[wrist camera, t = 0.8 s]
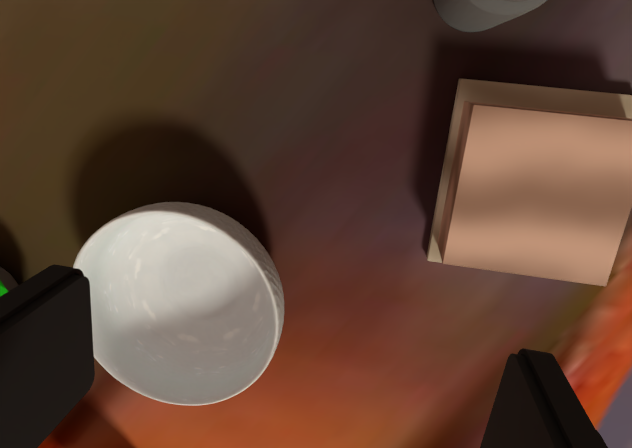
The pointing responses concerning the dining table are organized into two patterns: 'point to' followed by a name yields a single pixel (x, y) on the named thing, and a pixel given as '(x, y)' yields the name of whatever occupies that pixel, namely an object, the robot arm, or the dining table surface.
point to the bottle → (482, 12)
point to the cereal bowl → (182, 302)
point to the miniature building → (6, 282)
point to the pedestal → (534, 181)
